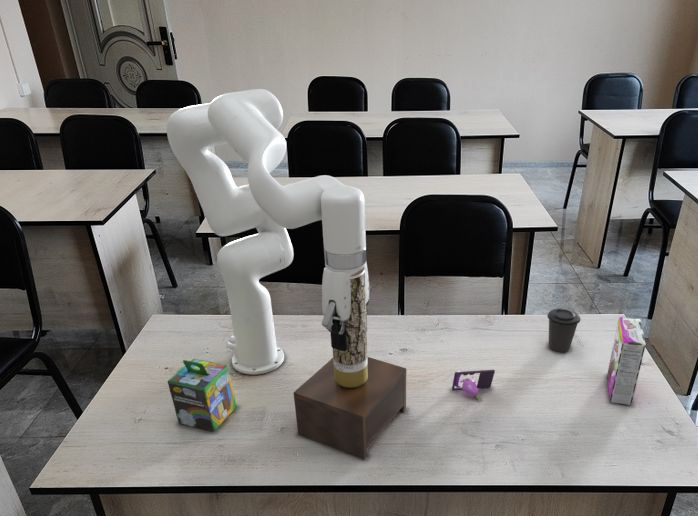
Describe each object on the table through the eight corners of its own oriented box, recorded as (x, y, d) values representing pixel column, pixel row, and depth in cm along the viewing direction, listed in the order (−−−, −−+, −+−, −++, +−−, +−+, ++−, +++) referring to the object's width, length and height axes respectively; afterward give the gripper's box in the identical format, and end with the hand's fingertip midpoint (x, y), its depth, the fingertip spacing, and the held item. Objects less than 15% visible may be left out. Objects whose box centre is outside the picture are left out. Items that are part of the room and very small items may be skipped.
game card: (493, 366, 135) (454, 369, 134) (498, 386, 132) (458, 388, 131) (489, 383, 140) (451, 386, 140) (493, 402, 137) (454, 405, 136)
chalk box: (237, 407, 133) (228, 351, 125) (213, 433, 126) (201, 375, 118) (202, 399, 136) (190, 343, 128) (176, 424, 128) (162, 366, 121)
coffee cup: (550, 335, 160) (555, 302, 154) (580, 345, 156) (586, 311, 150) (537, 349, 154) (542, 314, 149) (567, 359, 150) (573, 324, 145)
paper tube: (363, 391, 120) (359, 278, 107) (330, 387, 121) (322, 274, 108) (371, 372, 126) (368, 262, 113) (340, 368, 127) (333, 259, 114)
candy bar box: (605, 375, 144) (618, 315, 136) (627, 378, 143) (641, 318, 135) (608, 403, 135) (622, 341, 126) (631, 406, 134) (647, 344, 125)
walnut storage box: (298, 434, 125) (293, 392, 120) (344, 389, 139) (342, 349, 133) (364, 460, 119) (362, 416, 113) (406, 409, 133) (406, 368, 127)
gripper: (352, 236, 117) (356, 316, 126) (300, 270, 104) (308, 356, 113) (386, 243, 114) (387, 324, 123) (336, 279, 101) (342, 367, 110)
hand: (349, 339), depth 118 cm, fingers closed on paper tube, 6 cm apart
